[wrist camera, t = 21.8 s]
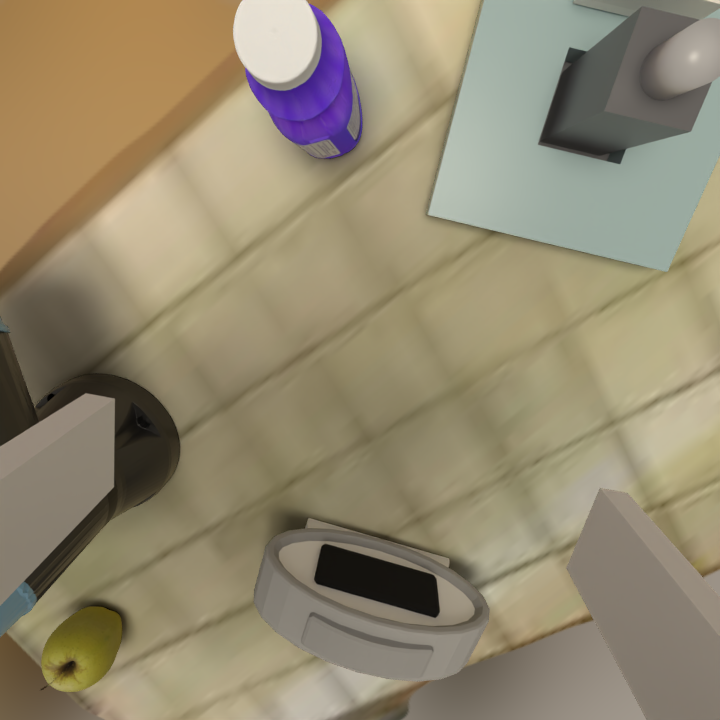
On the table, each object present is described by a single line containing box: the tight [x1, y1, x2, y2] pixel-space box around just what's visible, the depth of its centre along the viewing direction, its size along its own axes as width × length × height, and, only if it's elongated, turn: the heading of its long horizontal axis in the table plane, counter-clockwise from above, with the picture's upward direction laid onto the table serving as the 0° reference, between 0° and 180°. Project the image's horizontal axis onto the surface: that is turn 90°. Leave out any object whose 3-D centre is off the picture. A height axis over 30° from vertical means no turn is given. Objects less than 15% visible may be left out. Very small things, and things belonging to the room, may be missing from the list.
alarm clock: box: [254, 518, 489, 681], centre depth 45 cm, size 23×6×13 cm, turn 74°
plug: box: [540, 6, 720, 156], centre depth 29 cm, size 5×5×15 cm
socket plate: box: [426, 0, 720, 272], centre depth 35 cm, size 20×20×3 cm
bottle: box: [233, 0, 362, 158], centre depth 29 cm, size 7×6×17 cm
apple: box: [41, 606, 122, 692], centre depth 54 cm, size 8×8×10 cm
